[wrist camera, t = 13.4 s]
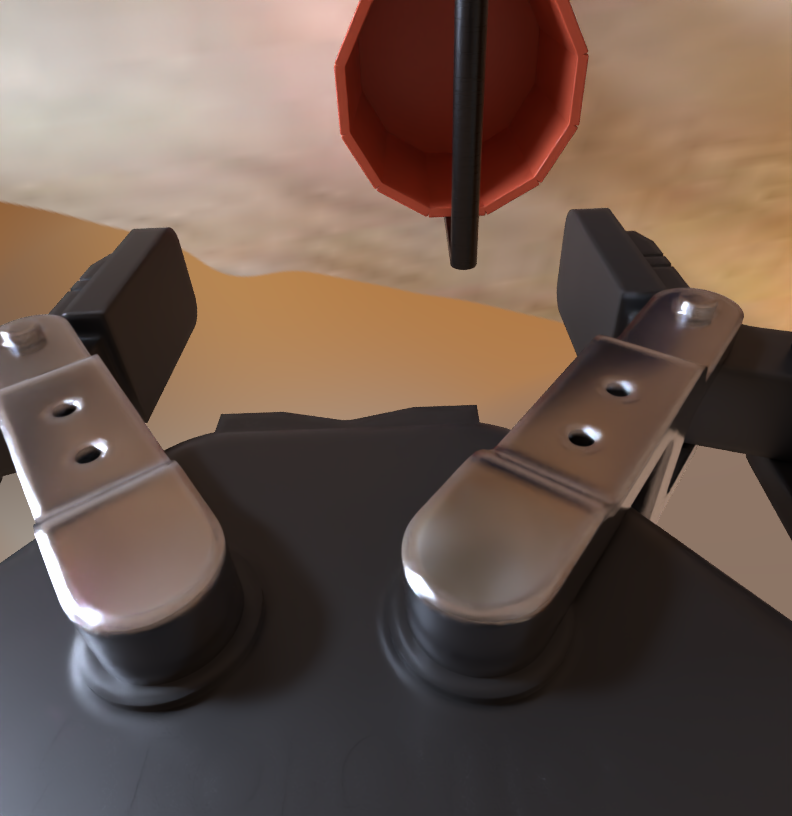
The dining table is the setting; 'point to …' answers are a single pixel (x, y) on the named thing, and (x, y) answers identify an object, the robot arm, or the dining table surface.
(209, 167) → the dining table surface
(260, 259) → the dining table surface
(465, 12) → the red bucket
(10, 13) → the dining table surface
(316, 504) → the robot arm
